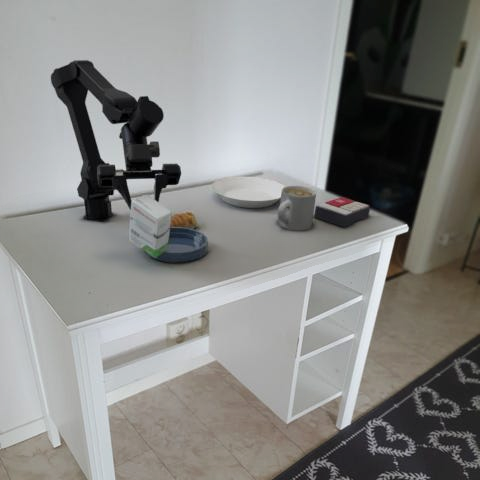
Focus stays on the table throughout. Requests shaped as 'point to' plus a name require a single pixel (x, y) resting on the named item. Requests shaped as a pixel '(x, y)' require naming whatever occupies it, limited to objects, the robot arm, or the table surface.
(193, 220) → the pastry
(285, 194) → the coffee mug
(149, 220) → the ink box
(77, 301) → the table surface
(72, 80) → the robot arm
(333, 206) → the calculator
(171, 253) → the glazed bowl
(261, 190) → the bowl
